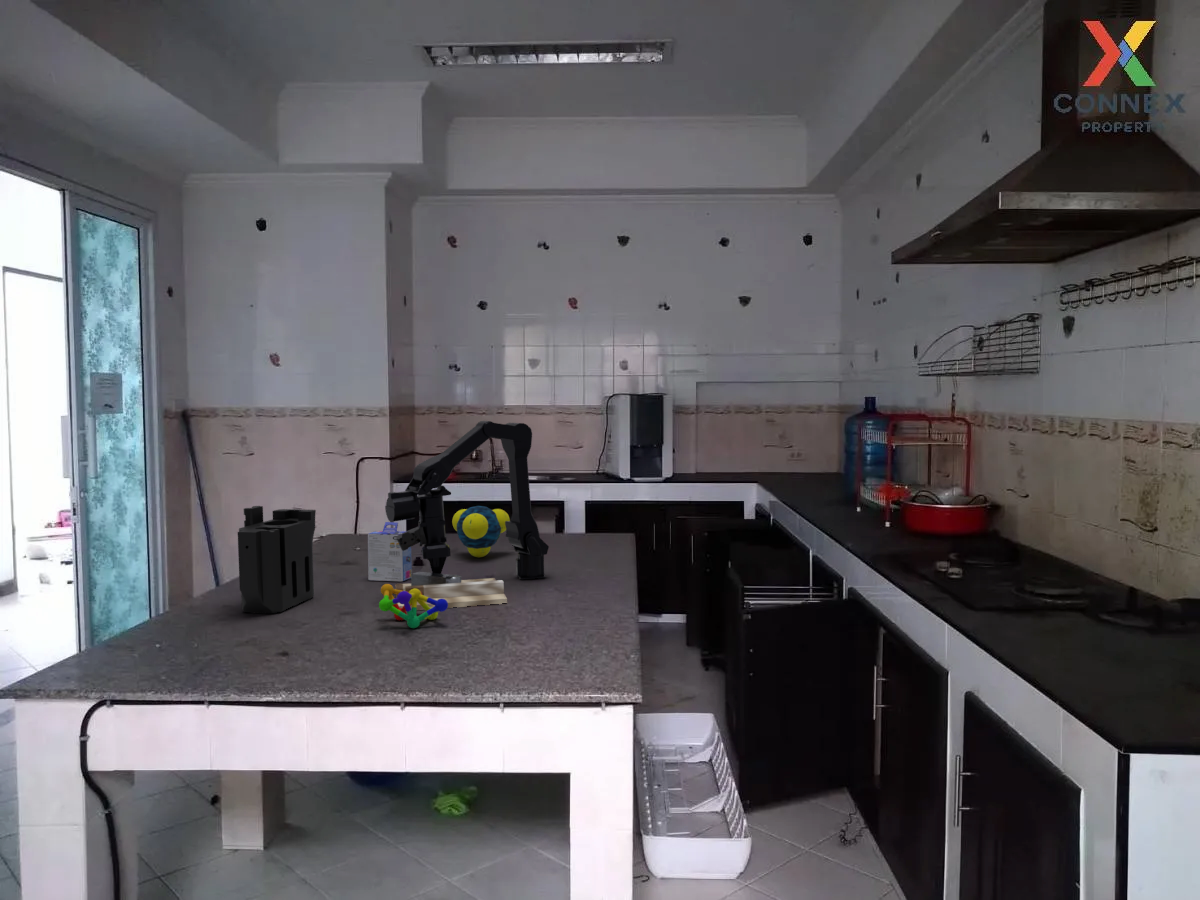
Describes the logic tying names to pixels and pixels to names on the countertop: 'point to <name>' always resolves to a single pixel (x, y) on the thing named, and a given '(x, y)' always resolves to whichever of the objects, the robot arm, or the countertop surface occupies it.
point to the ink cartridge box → (388, 556)
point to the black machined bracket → (276, 559)
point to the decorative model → (409, 600)
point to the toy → (479, 528)
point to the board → (466, 598)
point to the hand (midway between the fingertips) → (436, 580)
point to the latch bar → (433, 578)
